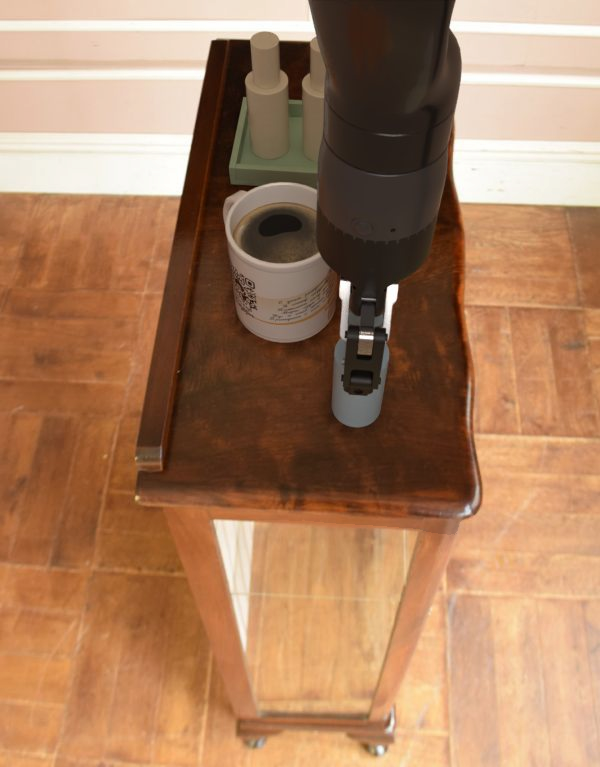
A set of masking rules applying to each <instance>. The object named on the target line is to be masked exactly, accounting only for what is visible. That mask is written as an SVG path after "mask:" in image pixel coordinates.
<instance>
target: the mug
mask: <svg viewBox="0 0 600 767" xmlns="http://www.w3.org/2000/svg"><path fill="white" fill-rule="evenodd" d="M316 212H317V190H316V189H314V188H311V187H309V186H306V185H302V184H298V183H291V182H277V183H270V184H265V185H262V186H255V187H253V188H252V189H249V190H248V191H246V190H243V189H242V190H241V189H239V190H238V191H236V192H234V193H233V194H231V195H229V196H227V197H226V198H225V200H224V202H223V207H222V217H223V223H224V228H225V238H226V245H227V252H228V260H229V267H230V275H231V276H230V277H231V284H232V291H233V299H234V307H235V312H236V315H237V317H238V319H239V320H240V323H241V324H242V325H243V326H244V327H245V328H246V329H247V330H248V331H249V332H250V333H251V334H253V335H255V336H256V337H258V338H261V339H263V340H266V341H269V342H274V343H280V344H281V343H282V344H283V343H285V344H287V343H297V342H301V341H305V340H307V339H310V338H312V337H314V336H315V335H317V334H318V333H320V332H321V331H323V330H324V329H325V328H326V326H327V325H328V324H329V323H330V322H331V320H332V318H333V317H334V314H335V312H336V308H337V300H338V299H337V295H338V277H339V274H337V273H336V272H335V271H333V270H332V269H331V268H330V267H329V266H328V265H327V264H326V263H325V261H324V260H323V259H322V257H321V255H320V253H319V251H318V248H317V244H316Z"/></svg>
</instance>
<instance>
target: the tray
mask: <svg viewBox="0 0 600 767" xmlns="http://www.w3.org/2000/svg"><path fill="white" fill-rule="evenodd" d="M289 126H290V148H289V150H288V152H287V153H286V154H285V155H283V156H282V157H279V158H276V159H263V158H260V157H258V156H256V155H255V154H254V153H253V152H252V150H251V148H250V137H249V124H248V111H247V99H246V96H243V97H242V101H241V107H240V112H239V116H238V121H237V126H236V131H235V136H234V140H233V145H232V150H231V155H230V159H229V165H228V173H229V180H230V181H229V182H230V185H237V186H253V187H259V186H262V185H265V184H270V183H277V182H291V183H298V184H302V185H306V186H309V187H311V188H314V189H316V190H317V169H318V162H314V161H312V160H310V159H308V158H307V157H306V156H305V155H304V153H303V150H302V99H289Z"/></svg>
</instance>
